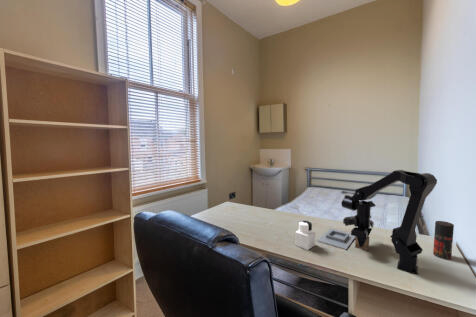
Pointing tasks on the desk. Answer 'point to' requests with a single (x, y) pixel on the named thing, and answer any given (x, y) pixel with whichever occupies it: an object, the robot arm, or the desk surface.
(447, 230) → the deodorant
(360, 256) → the desk surface
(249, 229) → the desk surface
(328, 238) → the base
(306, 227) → the medicine bottle
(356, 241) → the walnut block
